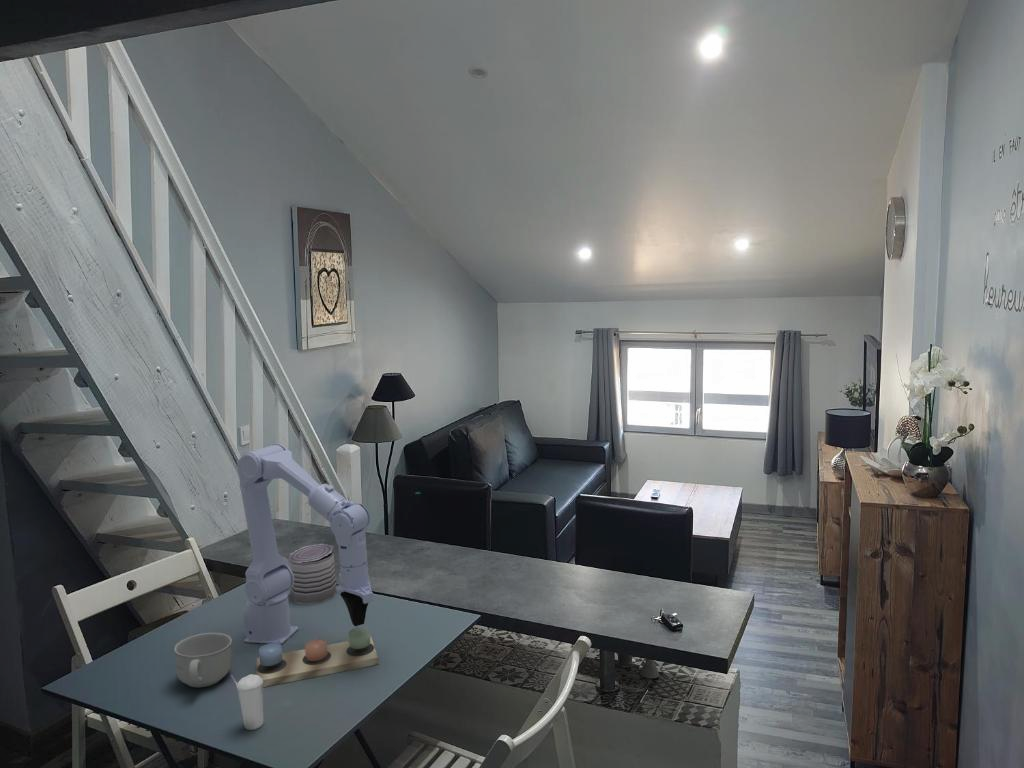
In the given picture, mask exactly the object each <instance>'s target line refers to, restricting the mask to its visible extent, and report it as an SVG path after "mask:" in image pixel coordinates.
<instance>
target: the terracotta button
mask: <svg viewBox="0 0 1024 768" xmlns="http://www.w3.org/2000/svg"><path fill="white" fill-rule="evenodd" d="M327 645H328V644H327V639H326V640H325V639H324V638H315V639H311V640H308V641H307V642H306V643H305V644H304V649H305V654H306V659H307V660H308V661H319V660H322V659H324V658H326V657H327V655H328V654H327Z"/></svg>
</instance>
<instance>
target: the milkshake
mask: <svg viewBox="0 0 1024 768" xmlns="http://www.w3.org/2000/svg"><path fill="white" fill-rule="evenodd" d="M230 677H231V678H232V680H233V681H234V683H235V685H236V691H237V695H238V700H239V704H240V709H241V714H242V715H241V716H242V719H243V726H244V728H245V729H246V730H249V731H252V730H253V731H254V730H257V729H259V728H261V727H262V726H263V725H264V687H263V679H262V678H261V677H260V676H258V675H256V674H252V673H251V674H248V675H247V676H244V677H242V678H240V679H239V681H238V682H237V680H236V679H235V677H234V676H233V674H230Z"/></svg>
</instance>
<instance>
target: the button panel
mask: <svg viewBox="0 0 1024 768" xmlns="http://www.w3.org/2000/svg"><path fill="white" fill-rule="evenodd" d="M327 654H328V655H327V657H326V658H324V659H322V660H319V661H308V660H307V659H306V654H305V648H303V649H299V650H294V651H288V652H282V661H281V662H279V663H278V664H275V665H272V666H263V665H261V664H260V657H257V658H256V669H255V670H256V671H255V673H256V674H255V675H258V676H260V677H261V678H262V679H263V688H265V687H271V686H275V685H281V684H285V683H291V682H297V681H302V680H306V679H310V678H316V677H323V676H327V675H332V674H336V673H340V672H341V673H342V672H346V671H347V672H348V671H352V670H357V669H363V668H368V667H371V666H373V667H374V666H378V665H379V657H378V653H377V651H376V648H375V643H374V641H373V637H372V636H370V644H369V645H368V646H367V647H365V648H361V649H353V648H351V647H350V646H349V640H347V641H341V642H338V643H336V642H335V643H331V644H327Z"/></svg>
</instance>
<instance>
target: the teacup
mask: <svg viewBox="0 0 1024 768" xmlns="http://www.w3.org/2000/svg"><path fill="white" fill-rule="evenodd" d="M232 640H233V639H232V638H231V636H230V635H228V634H226V633H221V632H204V633H203V632H202V633H198V634H195V635H191V636H188V637H186V638H183V639H181V640H180V641H179V642H177V643H176V644H175V645H174V647H173V651H174V658H175V659H174V661H175V662H174V663H175V664H174V665H175V669H176V670H175V671H176V676H177V678H178V680H180V682H182V683H184V684H186V685H187V686H189V687H191V688H206V687H210V686H213V685H215V684H217V683H219V682H220V681H221V680H222V679H223V678H224V677H225V676H226V675H227V674H228V673H229V671H230V669H231V666H232V652H233V651H232V644H233V641H232Z"/></svg>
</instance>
